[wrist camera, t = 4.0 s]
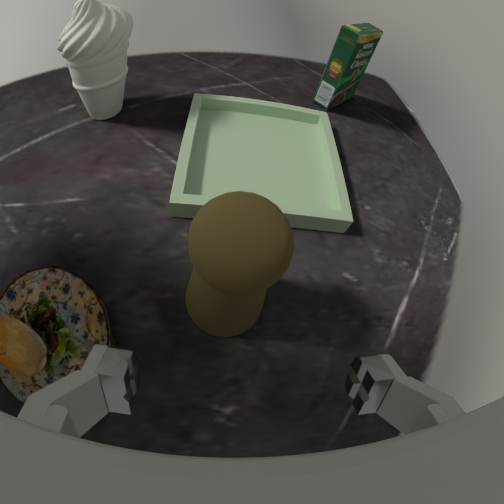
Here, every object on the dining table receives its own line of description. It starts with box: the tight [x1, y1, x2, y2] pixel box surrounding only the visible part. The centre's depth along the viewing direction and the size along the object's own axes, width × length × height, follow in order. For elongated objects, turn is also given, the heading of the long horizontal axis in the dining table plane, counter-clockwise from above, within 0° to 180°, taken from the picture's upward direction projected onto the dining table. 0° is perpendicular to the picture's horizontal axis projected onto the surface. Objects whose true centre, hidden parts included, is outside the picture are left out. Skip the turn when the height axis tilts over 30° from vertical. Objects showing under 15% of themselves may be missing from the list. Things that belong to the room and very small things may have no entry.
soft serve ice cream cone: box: [57, 0, 133, 120], centre depth 23 cm, size 8×8×16 cm
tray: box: [169, 93, 353, 233], centre depth 29 cm, size 16×16×2 cm
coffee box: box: [313, 23, 383, 111], centre depth 33 cm, size 8×3×13 cm, turn 136°
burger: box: [0, 266, 116, 406], centre depth 16 cm, size 12×12×8 cm
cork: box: [185, 191, 294, 337], centre depth 18 cm, size 6×6×11 cm
